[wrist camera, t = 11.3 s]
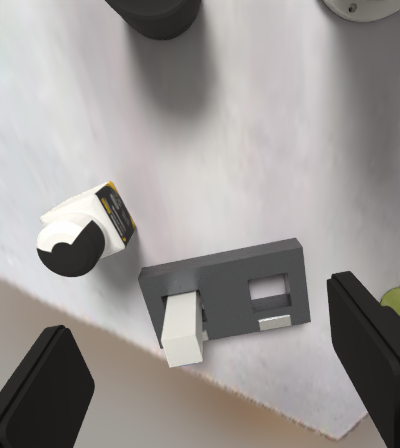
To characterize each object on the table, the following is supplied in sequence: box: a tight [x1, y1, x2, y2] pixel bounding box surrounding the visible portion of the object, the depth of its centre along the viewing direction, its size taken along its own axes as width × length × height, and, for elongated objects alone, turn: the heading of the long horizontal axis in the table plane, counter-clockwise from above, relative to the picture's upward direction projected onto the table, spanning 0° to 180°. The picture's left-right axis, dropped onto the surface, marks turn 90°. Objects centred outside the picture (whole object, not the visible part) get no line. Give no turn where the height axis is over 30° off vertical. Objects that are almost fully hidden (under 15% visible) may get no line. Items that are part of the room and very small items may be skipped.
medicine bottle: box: [37, 181, 136, 277], centre depth 35 cm, size 7×7×12 cm
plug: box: [161, 290, 203, 367], centre depth 40 cm, size 4×5×11 cm
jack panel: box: [138, 238, 311, 349], centre depth 44 cm, size 22×12×3 cm, turn 102°
